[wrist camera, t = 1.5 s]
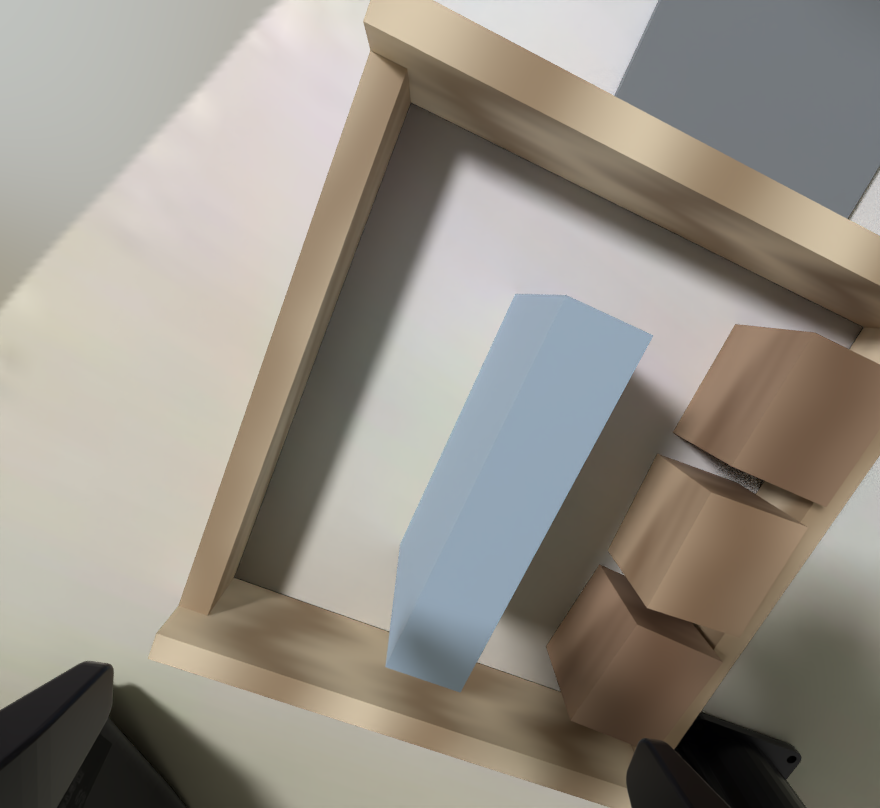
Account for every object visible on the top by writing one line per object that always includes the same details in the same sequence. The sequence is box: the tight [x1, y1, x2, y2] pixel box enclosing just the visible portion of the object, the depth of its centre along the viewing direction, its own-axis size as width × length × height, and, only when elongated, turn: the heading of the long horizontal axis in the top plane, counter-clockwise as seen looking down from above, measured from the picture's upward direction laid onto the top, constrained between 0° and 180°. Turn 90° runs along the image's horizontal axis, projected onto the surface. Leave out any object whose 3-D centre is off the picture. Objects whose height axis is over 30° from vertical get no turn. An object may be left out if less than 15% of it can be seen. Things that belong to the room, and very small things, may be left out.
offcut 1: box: [673, 324, 880, 507], centre depth 17 cm, size 4×5×4 cm
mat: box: [615, 0, 880, 219], centre depth 16 cm, size 10×13×1 cm
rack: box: [148, 0, 880, 808], centre depth 18 cm, size 22×23×4 cm
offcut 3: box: [546, 565, 723, 747], centre depth 20 cm, size 4×5×4 cm
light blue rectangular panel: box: [385, 294, 653, 692], centre depth 16 cm, size 2×12×7 cm, turn 156°
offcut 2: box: [608, 454, 808, 638], centre depth 19 cm, size 4×5×4 cm
